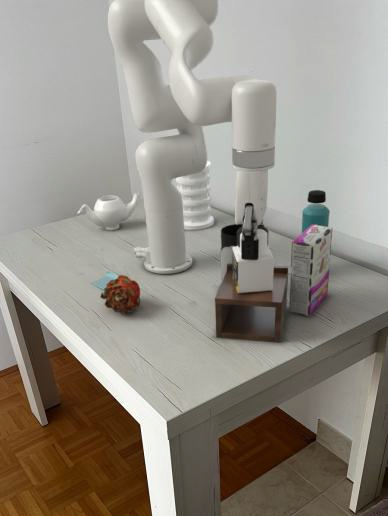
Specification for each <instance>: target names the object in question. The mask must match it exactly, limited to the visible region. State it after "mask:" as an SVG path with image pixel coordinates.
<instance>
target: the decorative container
mask: <svg viewBox="0 0 388 516" xmlns="http://www.w3.org/2000/svg"><path fill="white" fill-rule="evenodd" d="M211 168H212V162H211V161H210V160H207V164H206V167H205V168H204V170H202V171H201V172H199V173H196V174H192V175H187V176H182V177H178V178H175V182H176V185H177V186H176V188H177V189H178V190H179V191H180V193H181V195H182V200H183V215H184V230H188V231H198V230H205V229H209V228H210V227H212V226H213V225H214V223H215V219H214V216H212V215H211V212H212V207H211V199H212V198H211V195H210V191H211V185H210V179H211V176H210V171H209V170H211Z"/></svg>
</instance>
